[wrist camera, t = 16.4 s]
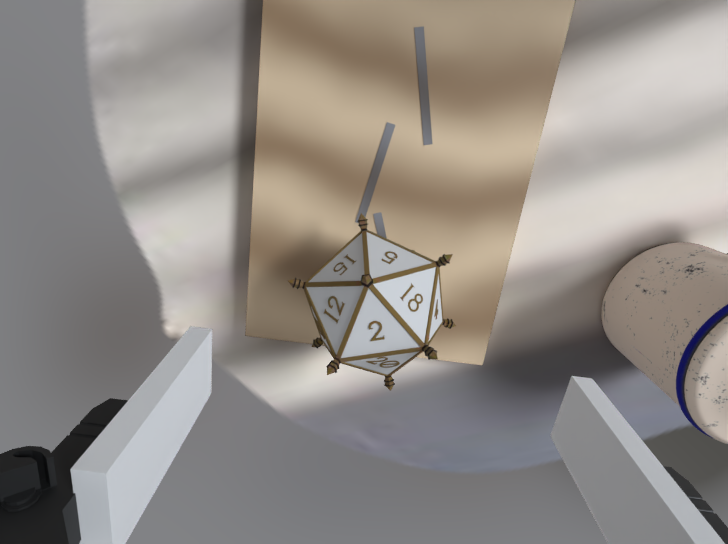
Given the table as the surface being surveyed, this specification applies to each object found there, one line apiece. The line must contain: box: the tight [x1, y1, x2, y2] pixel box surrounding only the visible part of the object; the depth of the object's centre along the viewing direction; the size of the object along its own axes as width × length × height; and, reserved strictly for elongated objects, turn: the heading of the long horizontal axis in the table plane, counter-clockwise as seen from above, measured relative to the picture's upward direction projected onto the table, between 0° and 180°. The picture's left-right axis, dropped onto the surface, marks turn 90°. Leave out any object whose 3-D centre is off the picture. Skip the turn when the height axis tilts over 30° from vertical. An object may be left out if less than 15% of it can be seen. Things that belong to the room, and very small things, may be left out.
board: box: [245, 0, 575, 365], centre depth 26 cm, size 23×16×2 cm
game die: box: [287, 213, 456, 391], centre depth 24 cm, size 9×8×10 cm
